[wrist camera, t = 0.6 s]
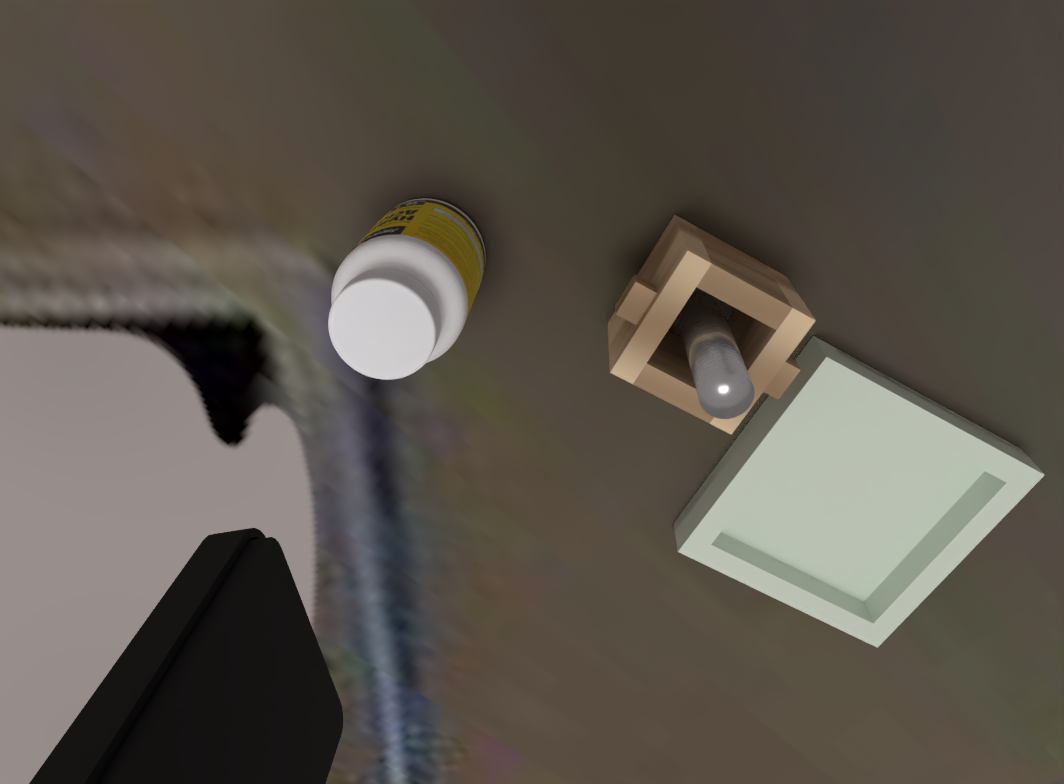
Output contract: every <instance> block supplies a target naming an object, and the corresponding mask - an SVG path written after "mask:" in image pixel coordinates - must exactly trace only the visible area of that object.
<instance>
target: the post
mask: <svg viewBox="0 0 1064 784" xmlns="http://www.w3.org/2000/svg"><path fill="white" fill-rule="evenodd" d="M677 319H678V323H679V326H680V330H681V334H682V338H683V342H684V345H685V349H686V353H687V357H688V361H689V364H690V368H691V372H692V376H693V380H694V383H695V387H696V391H697V395H698V399H699V402H700V405H701V407H702V408H703V410H704V411H705V412H706V413H707V414H709V415H710V416H712V417H715V418H719V419H731V418H735V417H737V416H739V415H741V414H743V413H744V412H745V411H746V410H747V409H748V408H749V407H750V406H751V404H752V402H753V399H754V395H755V391H754V386H753V383H752V381H751V378H750V376H749V373H748V371H747V369H746V366H745V364H744V361H743V359H742V356H741V354H740V351H739V349H738V346H737V344H736V341H735V339H734V337H733V334H732V332H731V329H730V327H729V324H728V322H727V319H726V317H725V314H724V312H723V310H722V307H721V305H720V302H719V300H718V298H716V297H714V296H712V295H710V294H708V293H707V292H705V291H703V290H701V289H699V288H697V287H696V288H695V290H694V292H693V293H692V295H691V296H690V298H689V299H688V301H687V302H686V304H685V305H684V307H683V308H682V310H681V311H680V313H679V314H678V316H677Z"/></svg>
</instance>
